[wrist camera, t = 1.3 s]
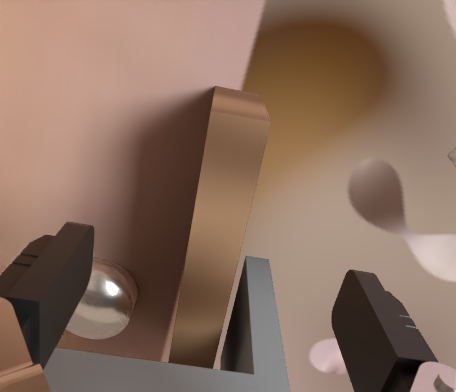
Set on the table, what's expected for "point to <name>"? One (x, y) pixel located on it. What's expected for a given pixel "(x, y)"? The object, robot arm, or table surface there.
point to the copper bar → (219, 222)
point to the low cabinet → (190, 375)
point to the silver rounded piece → (104, 302)
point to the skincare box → (453, 156)
